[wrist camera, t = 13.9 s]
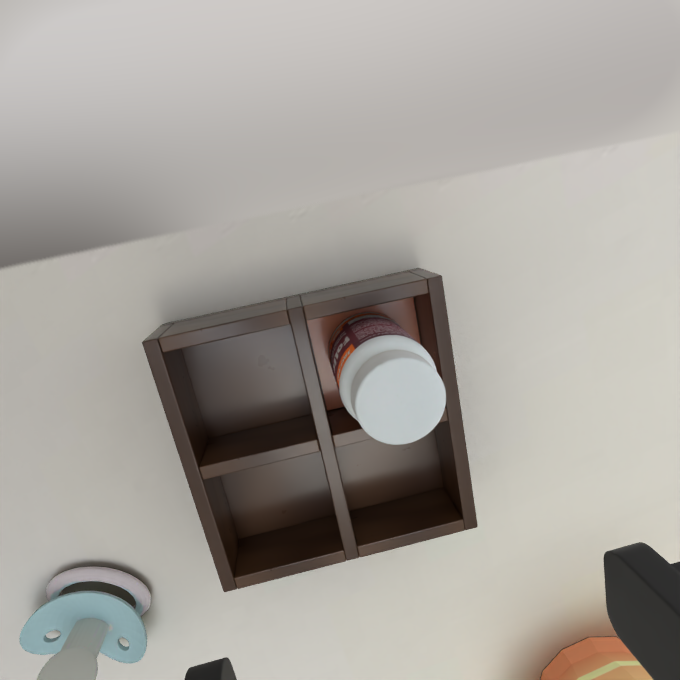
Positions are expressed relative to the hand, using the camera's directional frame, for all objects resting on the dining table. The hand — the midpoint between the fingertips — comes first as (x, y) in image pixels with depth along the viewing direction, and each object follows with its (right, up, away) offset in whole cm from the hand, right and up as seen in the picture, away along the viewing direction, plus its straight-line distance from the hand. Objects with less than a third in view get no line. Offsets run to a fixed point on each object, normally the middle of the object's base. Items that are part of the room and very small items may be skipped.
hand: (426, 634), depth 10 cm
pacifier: (-18, -11, +21) cm, 30 cm away
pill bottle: (0, +6, +18) cm, 19 cm away
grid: (-3, +1, +20) cm, 20 cm away
